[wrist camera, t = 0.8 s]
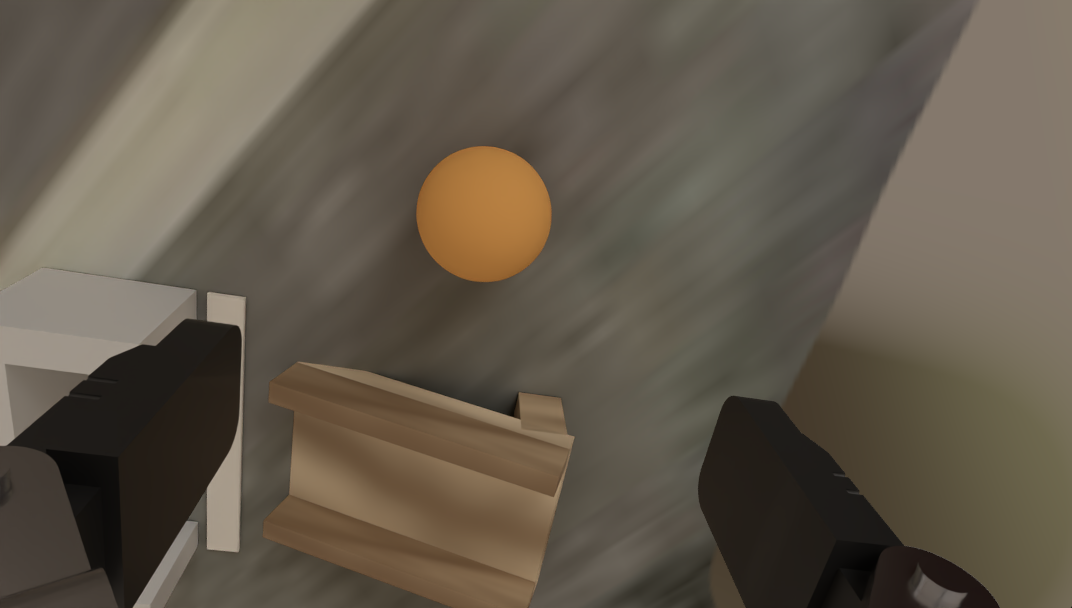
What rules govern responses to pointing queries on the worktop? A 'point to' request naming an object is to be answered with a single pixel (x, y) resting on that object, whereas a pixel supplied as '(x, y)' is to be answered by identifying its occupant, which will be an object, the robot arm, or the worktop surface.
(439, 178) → the ball
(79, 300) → the backstop
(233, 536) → the strip
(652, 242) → the worktop surface
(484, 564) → the ramp
